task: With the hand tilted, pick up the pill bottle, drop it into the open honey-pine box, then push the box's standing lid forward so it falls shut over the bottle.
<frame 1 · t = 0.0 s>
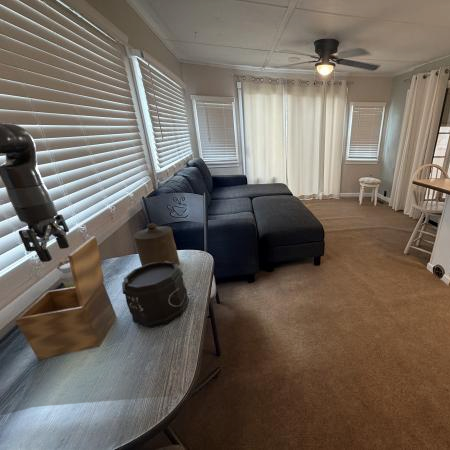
hand: (56, 254, 71), 25 cm above the table, tool pointing down, fingers open, 8 cm apart
box: (81, 336, 74), on the table
lid: (88, 269, 68), point 22 cm above the table, hinge at 98.0°
pill bottle: (79, 290, 96), on the table
lion figurine: (80, 278, 104), on the table
dark round tin: (163, 310, 84), on the table
wooden container: (162, 268, 111), on the table
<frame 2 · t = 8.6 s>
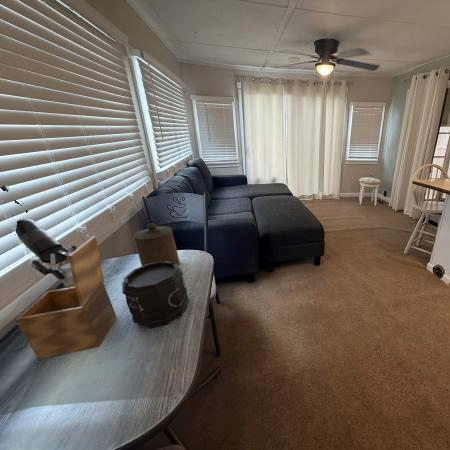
hand: (73, 273, 93), 8 cm above the table, tool tilted 45°, fingers closed on pill bottle, 6 cm apart
pill bottle: (78, 290, 96), on the table, touching gripper
everything else where it was.
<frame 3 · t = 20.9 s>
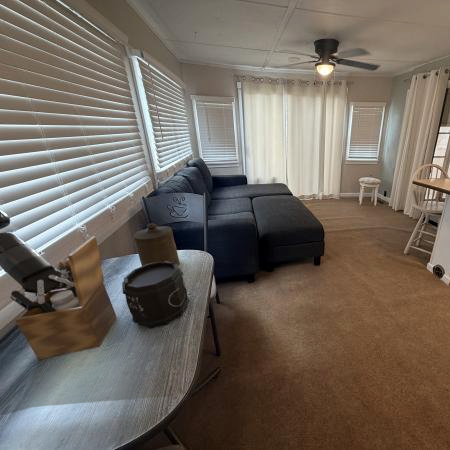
hand: (69, 305, 69), 12 cm above the table, tool tilted 45°, fingers closed on pill bottle, 6 cm apart
pill bottle: (76, 326, 73), point 4 cm above the table, touching gripper
everything else where it was.
when the fingers open (15 cm above the table, at t = 43.6 s): pill bottle drops 6 cm, resting on box.
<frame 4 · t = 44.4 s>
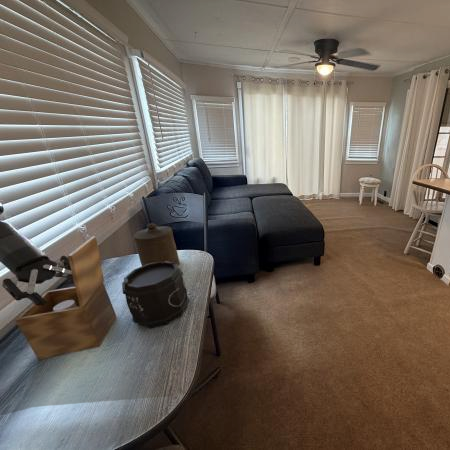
hand: (63, 294, 68), 16 cm above the table, tool tilted 45°, fingers open, 8 cm apart
pill bottle: (78, 336, 73), point 1 cm above the table, touching box
everything else where it was.
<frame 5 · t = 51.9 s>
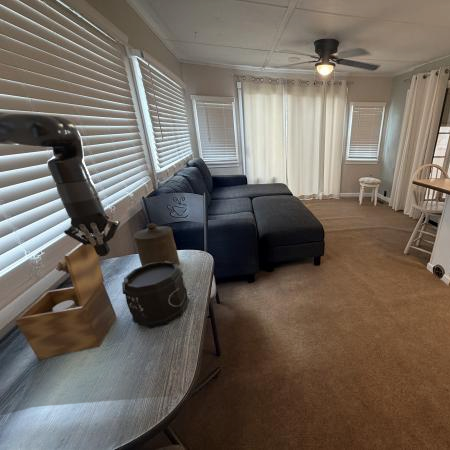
hand: (104, 254, 70), 25 cm above the table, tool pointing down, fingers closed
lid: (86, 269, 68), point 22 cm above the table, hinge at 95.3°, touching gripper, hand
everything else where it was.
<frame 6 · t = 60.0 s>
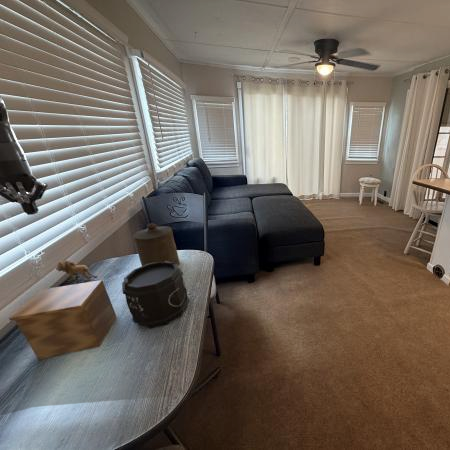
hand: (33, 213, 77), 35 cm above the table, tool pointing down, fingers closed
lid: (61, 298, 69), point 15 cm above the table, hinge at -0.1°
everything else where it was.
at the end: pill bottle inside the target area in the box (0.6 cm from its centre), point 0.6 cm above the box's base; lid at +0° (first picture: +98°) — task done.
